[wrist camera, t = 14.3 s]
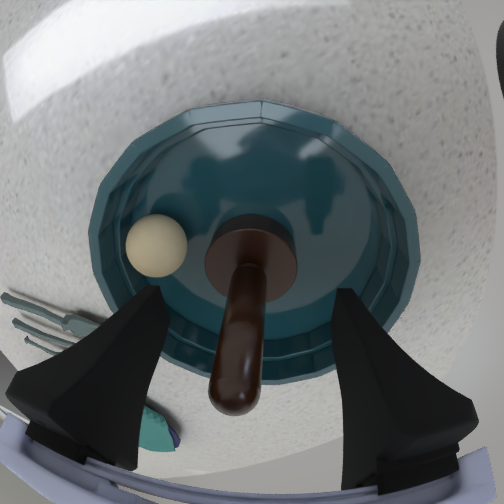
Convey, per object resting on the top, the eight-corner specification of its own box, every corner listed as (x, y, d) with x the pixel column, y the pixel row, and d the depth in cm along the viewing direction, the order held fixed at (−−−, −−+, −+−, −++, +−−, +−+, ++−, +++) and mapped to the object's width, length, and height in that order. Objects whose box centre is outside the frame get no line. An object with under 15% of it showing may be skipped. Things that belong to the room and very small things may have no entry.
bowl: (434, 158, 11) (473, 182, 8) (330, 356, 20) (335, 396, 17) (131, 80, 11) (90, 83, 8) (127, 313, 19) (108, 349, 16)
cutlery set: (76, 413, 35) (71, 423, 33) (-5, 277, 19) (-17, 291, 17) (186, 448, 35) (183, 461, 33) (172, 333, 19) (164, 358, 17)
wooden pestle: (303, 220, 13) (328, 383, 6) (287, 291, 16) (289, 441, 8) (211, 208, 13) (145, 359, 6) (209, 280, 16) (167, 425, 8)
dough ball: (159, 239, 11) (116, 209, 12) (150, 298, 12) (112, 265, 13) (206, 225, 13) (163, 200, 14) (192, 277, 14) (154, 250, 15)
